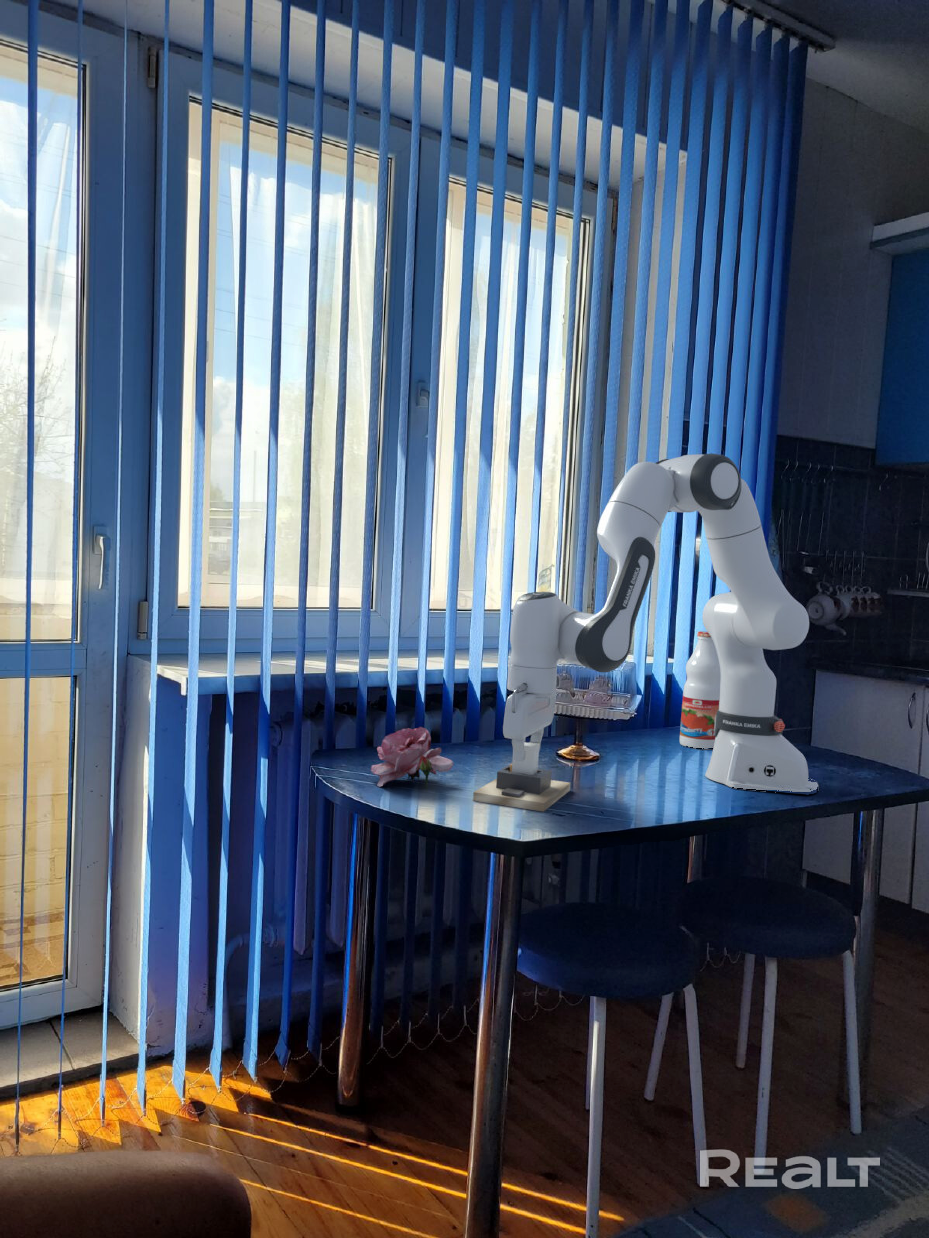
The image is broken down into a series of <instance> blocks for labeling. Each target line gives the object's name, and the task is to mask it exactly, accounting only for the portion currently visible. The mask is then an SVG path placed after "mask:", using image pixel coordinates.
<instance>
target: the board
mask: <svg viewBox="0 0 929 1238" xmlns="http://www.w3.org/2000/svg"><path fill="white" fill-rule="evenodd" d="M496 783H497V778H495V779H493V780H492V781H490V782H488V783H486V784H485V785H483V786H482V787H480V788H478V789H477V790H475V791H473V795H472V801H475V802H480V803H487V804H492V805H493V804H494V805H499V806H507V807H512V808H519V809H525V810H531V811H537V812H545V811H546V810H547V809H549V808H550V807H551V806H552V805H554V804H555V803H557V802H558V801H559V800H560V799H561V798H562V797H564V796H565V795H566V794H567V793H569V792H570V791H571V782H566V781H561V780H554V779H553V780H552V779H551V787H549V788H548V789H547V790H545V791H544V792H542V793H541V794H540V795H539V794H532V793H526V792H524V791H523V790H517V789H510V788H507V789H499V788H496Z"/></svg>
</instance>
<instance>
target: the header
mask: <svg viewBox="0 0 929 1238" xmlns="http://www.w3.org/2000/svg"><path fill="white" fill-rule="evenodd" d="M496 773H497V774H496V779H497V783H496V788H499V789H507V788H510V789H517V790H523V791H524V792H526V793H532V794H539V795H540V794H541V793H542V792H544V791H545V790H547V789H548V788H549V787H551V780H552V770H549V769H544V768H538V771H537V774H536V775H529V774H523V773H516V772H510V764H508V765H506V766H505V767H503V768H501V769H499V770H498V771H497V772H496Z"/></svg>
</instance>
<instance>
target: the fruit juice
mask: <svg viewBox="0 0 929 1238" xmlns="http://www.w3.org/2000/svg"><path fill="white" fill-rule="evenodd" d="M696 636H697V637H696V638H697V639H698V640H697V643H696V645H695V648H694V650H693V652H692V654H691V656H690V657H689V659H688V660H687V662H686V663H685V664H686V665H685V673H686V681H685V683H684V685H683V690H682V691H683V692H682V704H681V713H680V714H681V717H680V728H679V730H680V731H679V744H680V745H681V746H684V747H686V746H688V747H687V748H690V747H693V748H692V749H696V748H702V749H701V750H709V749H708V748H714V743H715V732H714V727H715V716H716V712H717V710H718V709H719V700H720V683H721V672H720V664H719V658H718V654H717V650H716V647H715V644H714V641H713V639H712V637H711V636H710V634H709V633H708V632H707V631H703V630H702V631H699V630H698V631H697V633H696ZM703 748H704V749H703Z"/></svg>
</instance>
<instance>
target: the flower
mask: <svg viewBox="0 0 929 1238" xmlns="http://www.w3.org/2000/svg"><path fill="white" fill-rule="evenodd" d="M430 734H431V733H430V732H429V730H428V729H427V728H425V727H422V726H419V727H417V728H413V729H412V728H409V727H408V728H401V729H400V730H397V731H395V732H394V733H390V734H388V735H385V736H384V738H383V739H382V741H381V746H377V748H376V750H377V753H378V754H377V756H378V759H380V760H382V761H384V762H382V763H378V764H373V765H371V768H370V770H371V771H370V772H371V773H372V774H374V775H377V776H378V777H379V778H378V779H379V780H378V782H377V784H376V785H377V787H380V788H381V787H383V786H384V785H386V784H387V783H388V782H389V783H390V782H391V781H395V780H397V779H400V778H403V777H404V776H406V775H407V776H408V778H407V781H409V779H411V781H410V784H413V781H414V779H415V778H417V779H418V780H420V777H421V776H420V774H421V773H420V771H422V772H423V775H424V776H425V788H427V786H428V778H429V776H430V773H431V774H433V775H435V776H436V775H437V772H439V773H443V772H444V773H445V772H449V771H451V769H452V768H453V766H454V761H453V760H452V759H450V758H447V757H444V756H441V755H440V754H441V753H442V748H441V747H436V748H431V747H432V746H431V745H432V738H431V735H430Z"/></svg>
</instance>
